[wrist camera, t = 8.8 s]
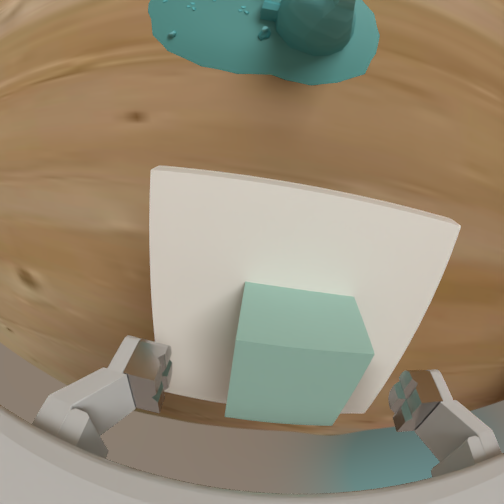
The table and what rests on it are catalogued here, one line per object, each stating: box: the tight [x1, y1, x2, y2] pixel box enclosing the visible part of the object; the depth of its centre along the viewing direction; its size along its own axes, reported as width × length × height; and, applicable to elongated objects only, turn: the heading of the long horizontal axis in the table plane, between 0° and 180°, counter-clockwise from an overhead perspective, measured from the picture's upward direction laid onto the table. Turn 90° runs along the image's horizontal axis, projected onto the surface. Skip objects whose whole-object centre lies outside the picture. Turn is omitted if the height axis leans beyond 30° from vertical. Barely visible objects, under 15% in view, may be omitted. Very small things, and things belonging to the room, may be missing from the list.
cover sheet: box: [149, 166, 461, 426], centre depth 10 cm, size 11×11×4 cm
